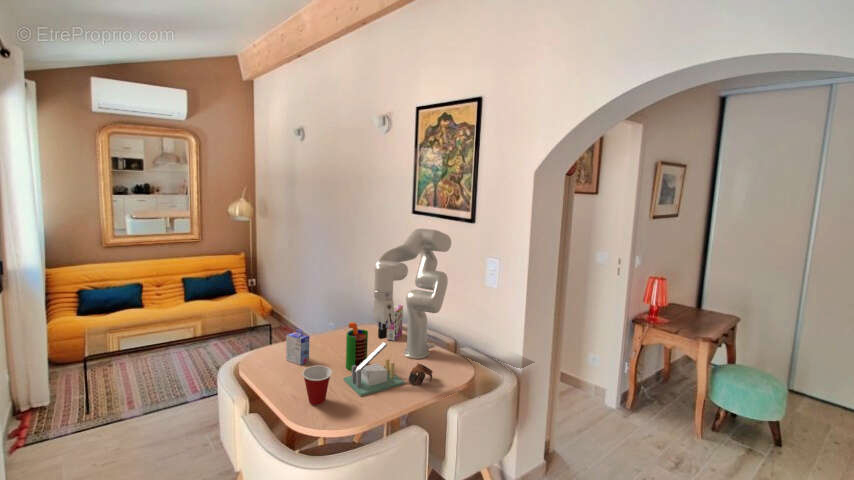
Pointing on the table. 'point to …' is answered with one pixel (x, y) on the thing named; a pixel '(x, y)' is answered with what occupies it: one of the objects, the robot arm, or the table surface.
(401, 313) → the candy bar box
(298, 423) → the table surface
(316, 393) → the plastic cup
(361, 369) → the strap
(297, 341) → the ink cartridge box
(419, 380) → the pottery mug
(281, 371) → the table surface
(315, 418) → the table surface
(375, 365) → the board
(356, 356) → the motor
